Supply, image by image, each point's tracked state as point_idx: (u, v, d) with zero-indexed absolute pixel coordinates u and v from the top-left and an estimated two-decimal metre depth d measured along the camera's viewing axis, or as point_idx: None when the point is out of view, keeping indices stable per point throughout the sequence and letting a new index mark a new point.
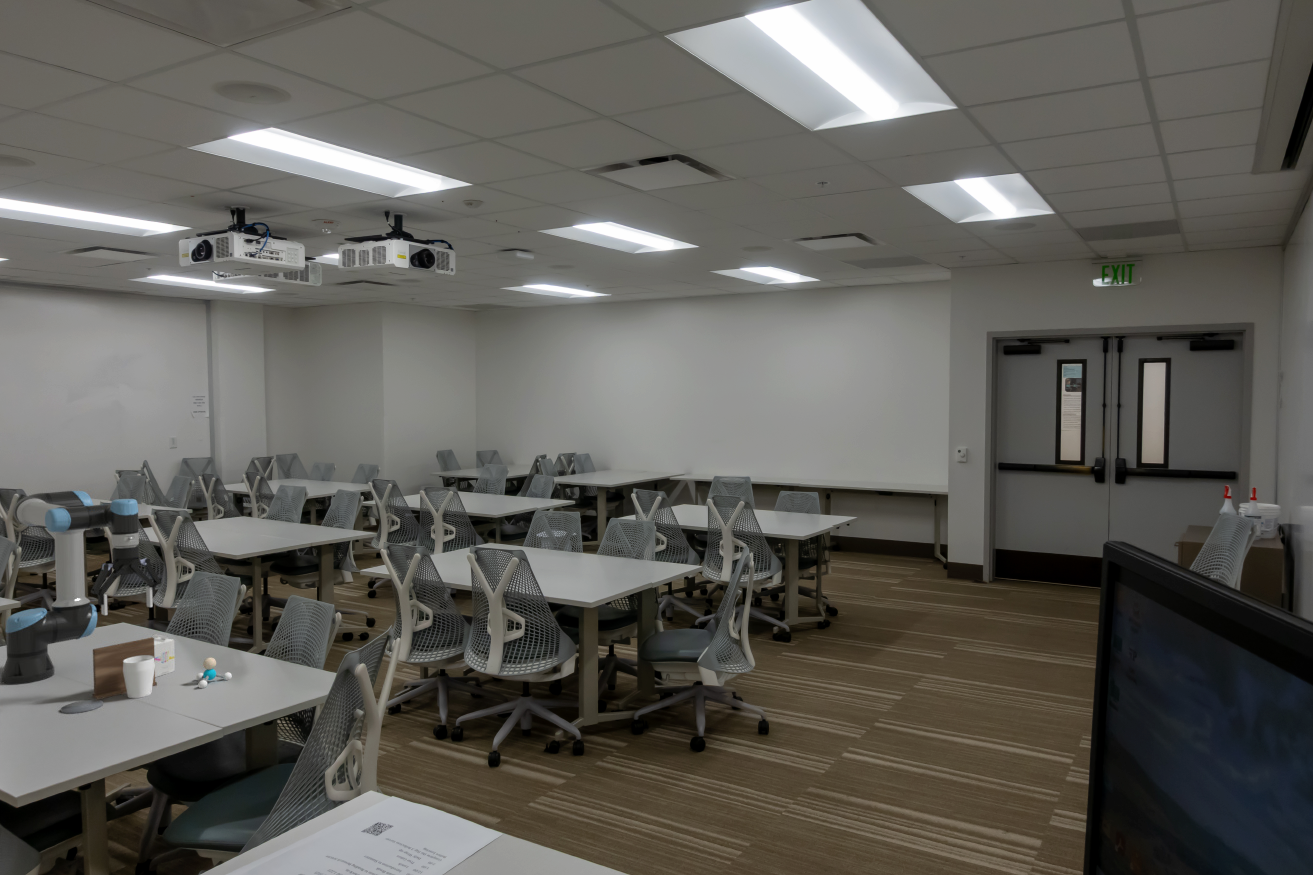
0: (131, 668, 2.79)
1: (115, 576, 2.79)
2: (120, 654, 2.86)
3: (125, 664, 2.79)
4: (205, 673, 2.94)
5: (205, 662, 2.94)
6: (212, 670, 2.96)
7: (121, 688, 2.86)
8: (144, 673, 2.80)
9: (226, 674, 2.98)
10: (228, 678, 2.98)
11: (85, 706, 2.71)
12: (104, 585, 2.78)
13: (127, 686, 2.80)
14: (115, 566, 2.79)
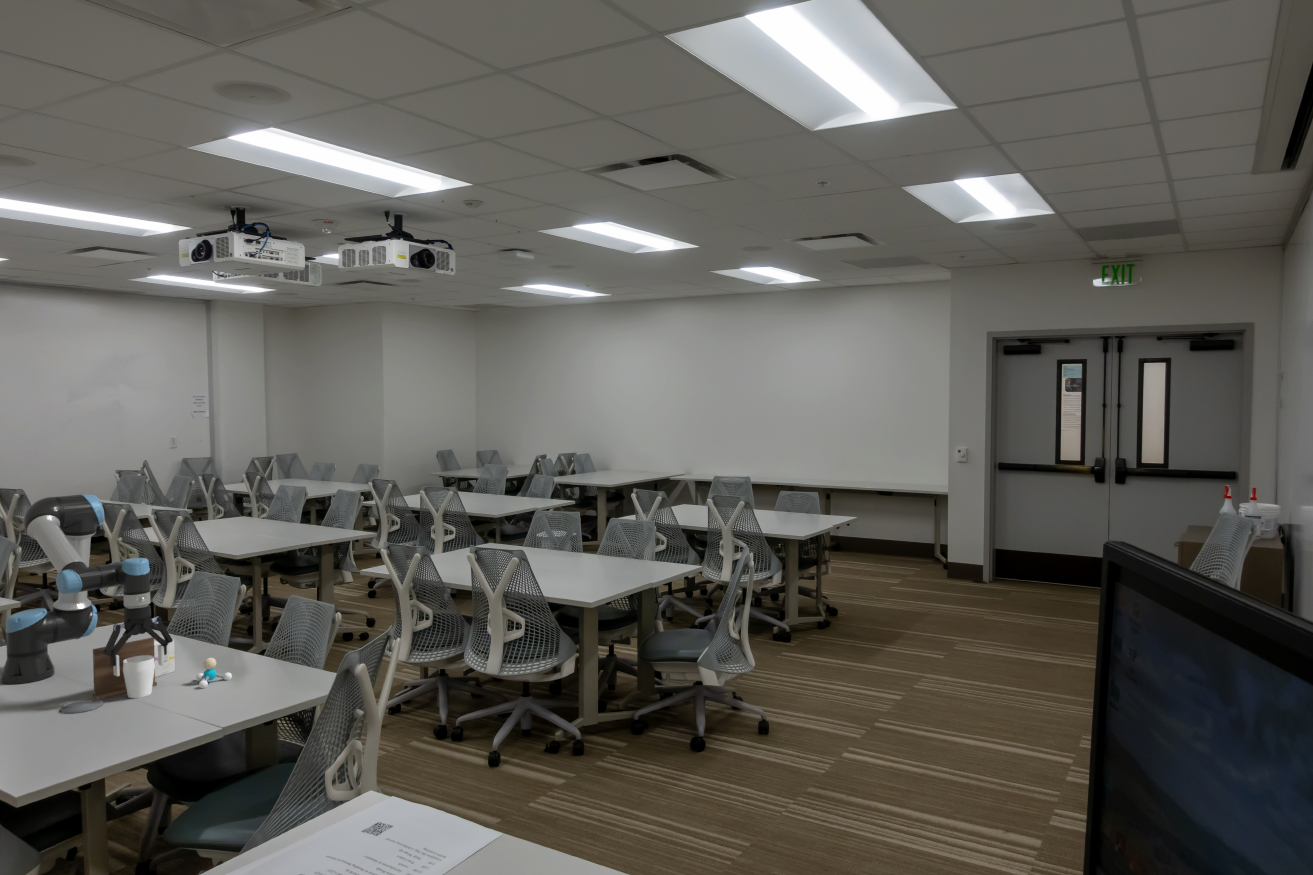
0: (131, 668, 2.79)
1: (127, 636, 2.79)
2: (120, 654, 2.86)
3: (125, 664, 2.79)
4: (205, 673, 2.94)
5: (205, 662, 2.94)
6: (212, 670, 2.96)
7: (121, 688, 2.86)
8: (144, 673, 2.80)
9: (226, 674, 2.98)
10: (228, 678, 2.98)
11: (85, 706, 2.71)
12: (116, 646, 2.77)
13: (127, 686, 2.80)
14: (127, 626, 2.79)
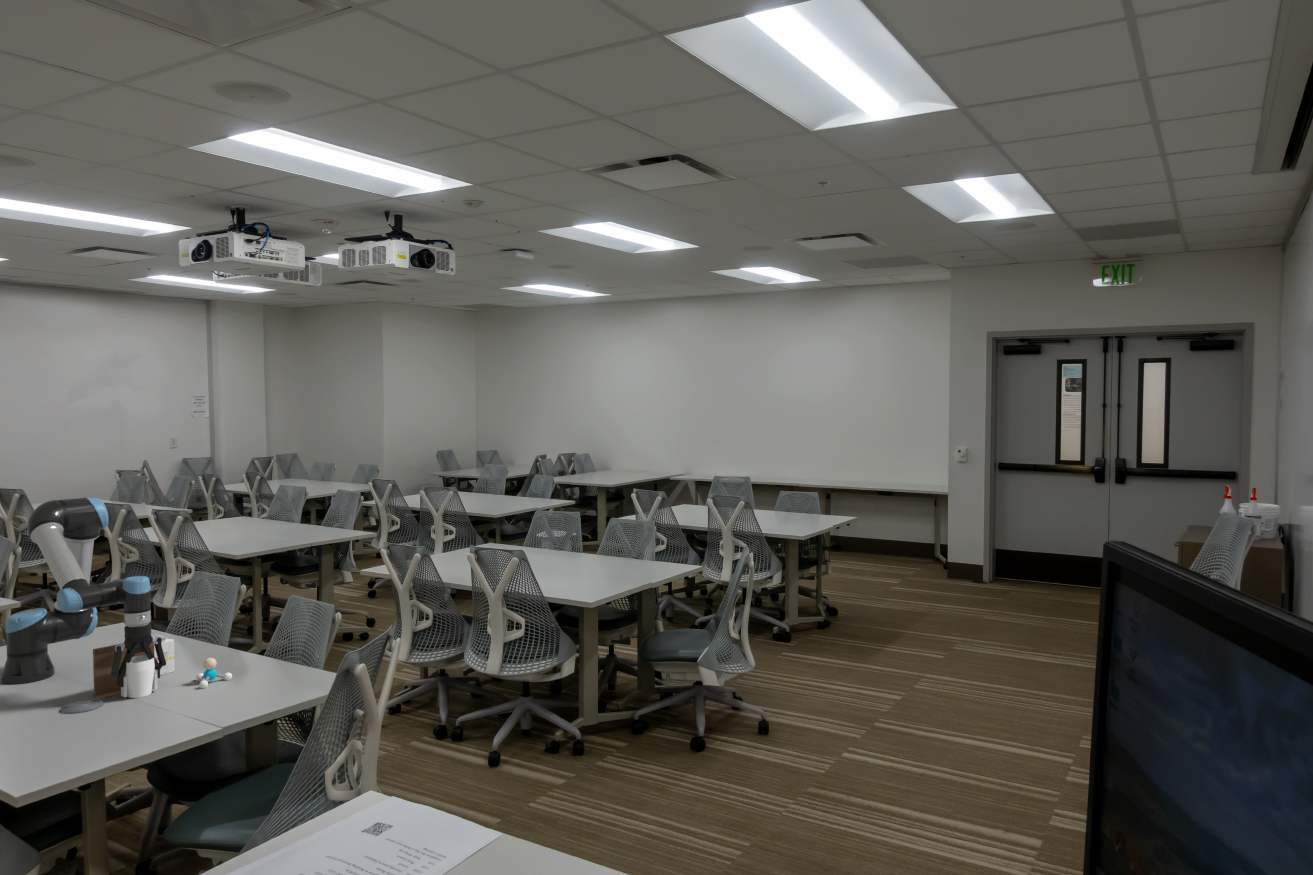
0: (131, 668, 2.79)
1: (130, 656, 2.80)
2: None
3: None
4: (205, 673, 2.94)
5: (206, 662, 2.94)
6: (212, 670, 2.95)
7: None
8: (144, 673, 2.80)
9: (226, 674, 2.98)
10: (228, 678, 2.98)
11: (85, 706, 2.71)
12: (122, 667, 2.79)
13: (127, 686, 2.80)
14: (127, 645, 2.79)
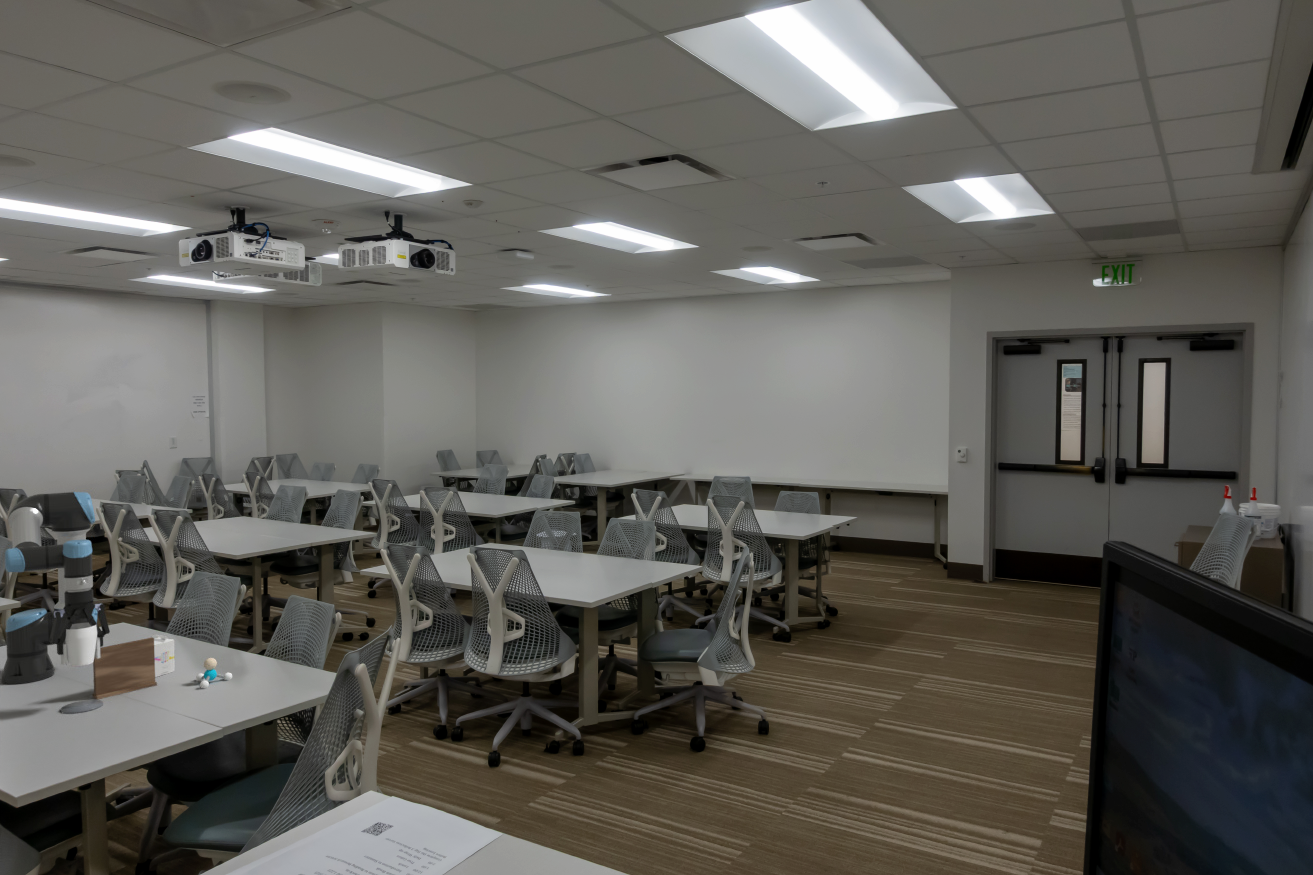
0: (71, 634, 2.67)
1: (70, 622, 2.68)
2: (120, 654, 2.86)
3: None
4: (206, 673, 2.94)
5: (206, 662, 2.94)
6: (213, 670, 2.95)
7: (121, 688, 2.86)
8: (85, 640, 2.68)
9: (227, 674, 2.98)
10: (229, 678, 2.98)
11: (85, 706, 2.71)
12: (61, 634, 2.67)
13: (67, 654, 2.68)
14: (67, 611, 2.67)
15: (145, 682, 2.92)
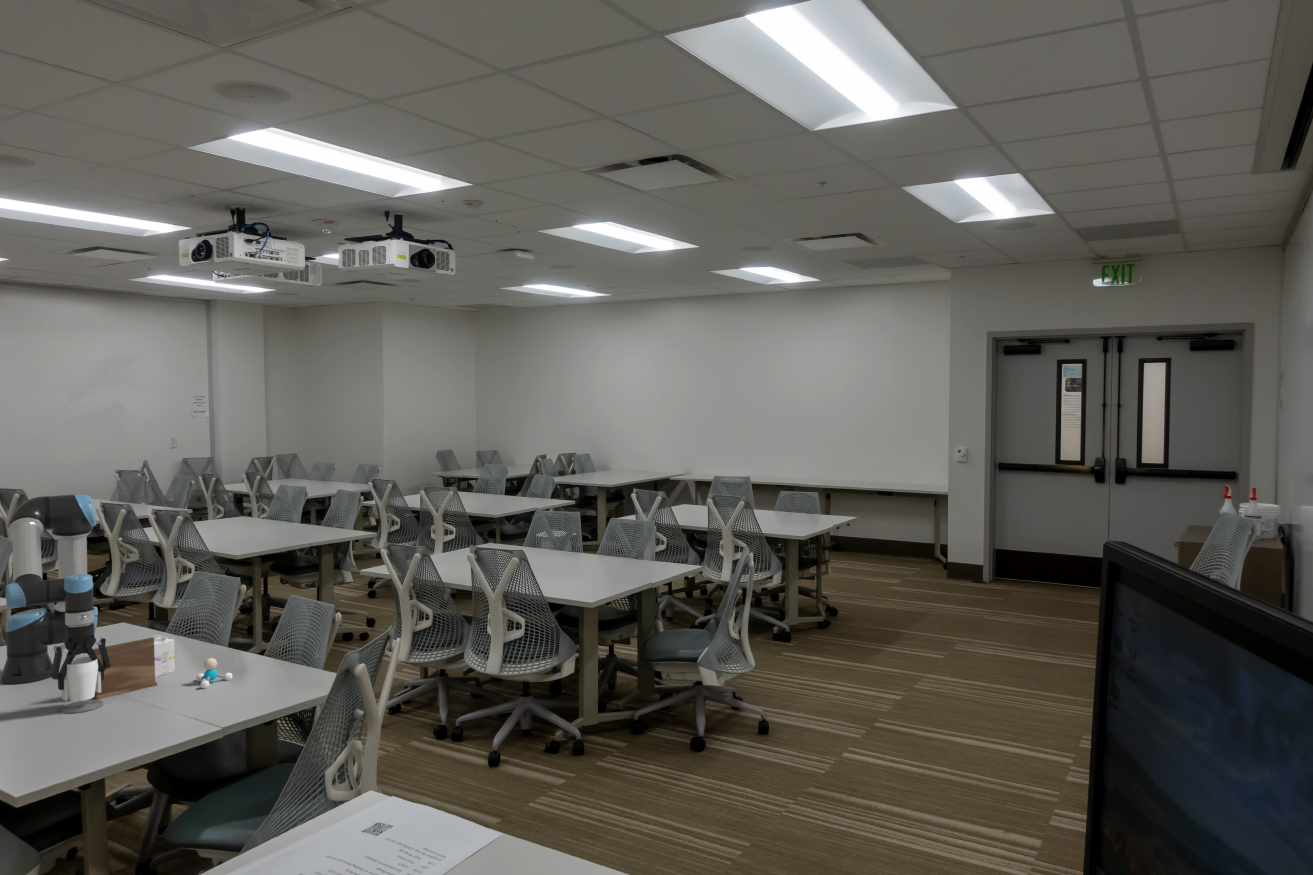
0: (72, 670, 2.67)
1: (71, 658, 2.68)
2: (120, 654, 2.86)
3: None
4: (206, 673, 2.94)
5: (206, 662, 2.94)
6: (213, 670, 2.95)
7: (121, 688, 2.86)
8: (86, 675, 2.69)
9: (227, 674, 2.98)
10: (229, 678, 2.98)
11: (85, 706, 2.71)
12: (62, 669, 2.67)
13: (68, 689, 2.68)
14: (68, 646, 2.68)
15: (145, 682, 2.92)
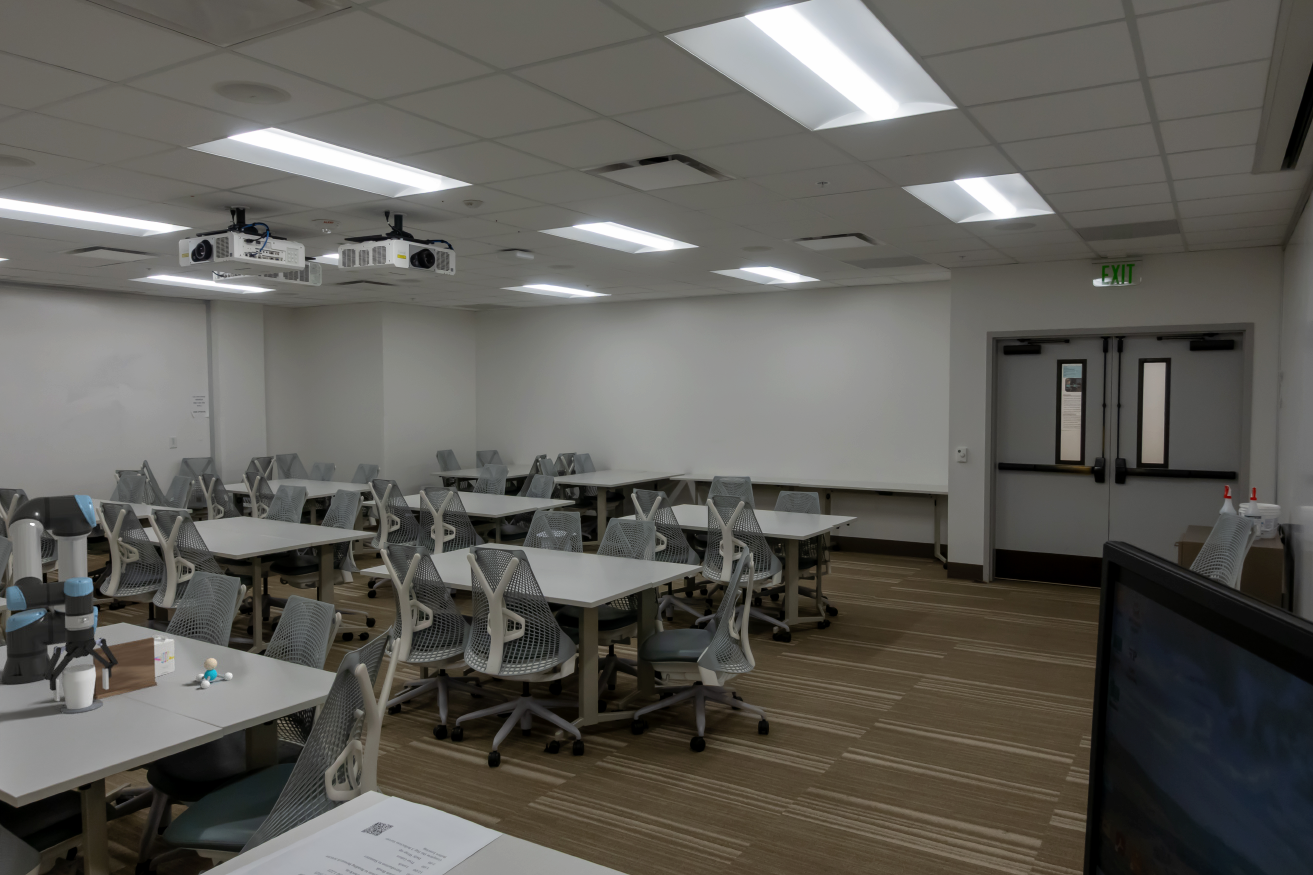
0: (70, 678, 2.66)
1: (68, 659, 2.67)
2: (120, 654, 2.86)
3: (63, 674, 2.67)
4: (206, 673, 2.94)
5: (206, 662, 2.94)
6: (213, 670, 2.95)
7: (121, 688, 2.86)
8: (83, 683, 2.68)
9: (227, 674, 2.98)
10: (229, 678, 2.98)
11: None
12: (56, 669, 2.66)
13: (66, 697, 2.68)
14: (68, 649, 2.68)
15: (145, 682, 2.92)
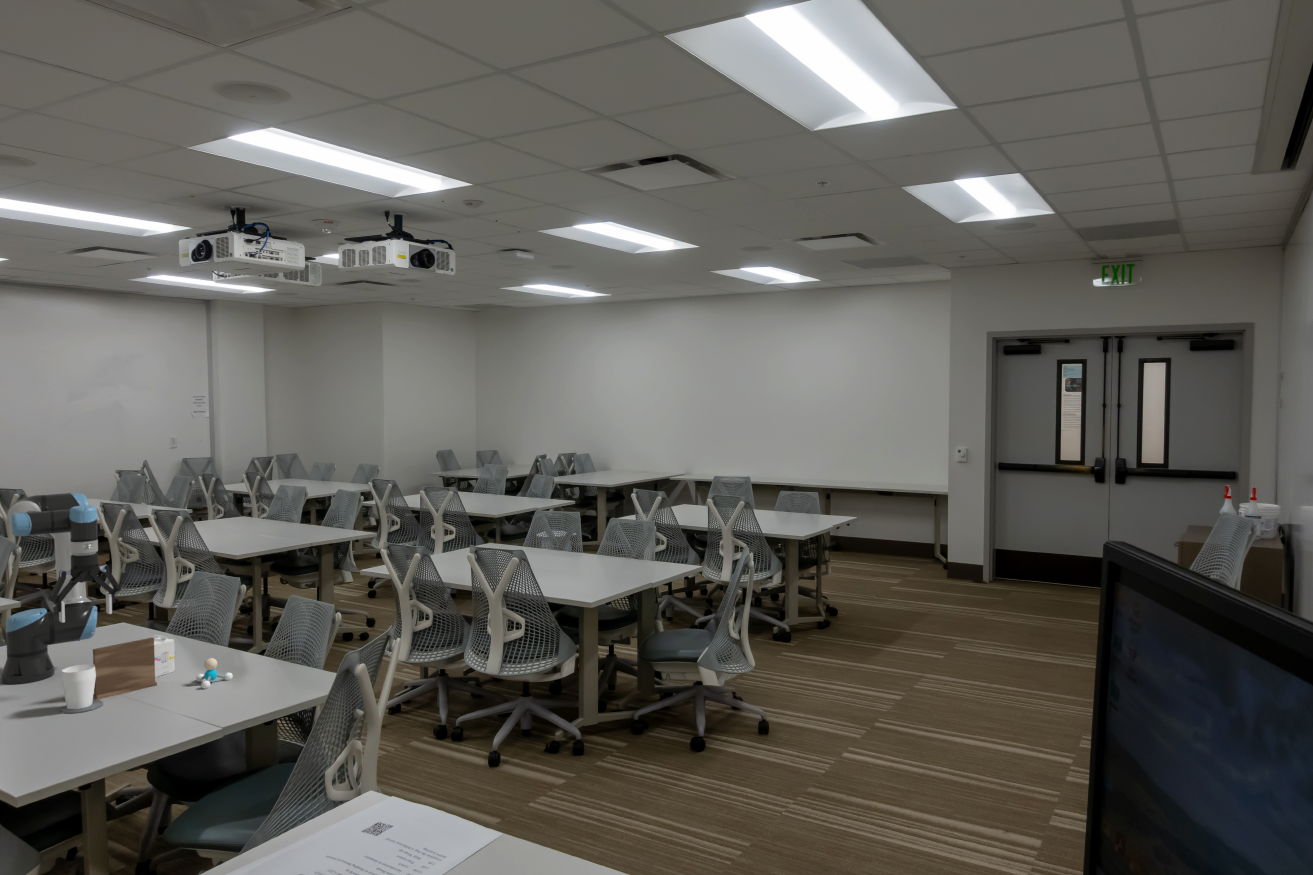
0: (70, 677, 2.66)
1: (73, 583, 2.78)
2: (120, 654, 2.86)
3: (63, 674, 2.67)
4: (207, 674, 2.94)
5: (207, 663, 2.94)
6: (213, 670, 2.95)
7: (121, 688, 2.86)
8: (83, 683, 2.68)
9: (227, 674, 2.98)
10: (229, 678, 2.98)
11: None
12: (62, 592, 2.77)
13: (66, 697, 2.68)
14: (73, 573, 2.78)
15: (145, 682, 2.92)
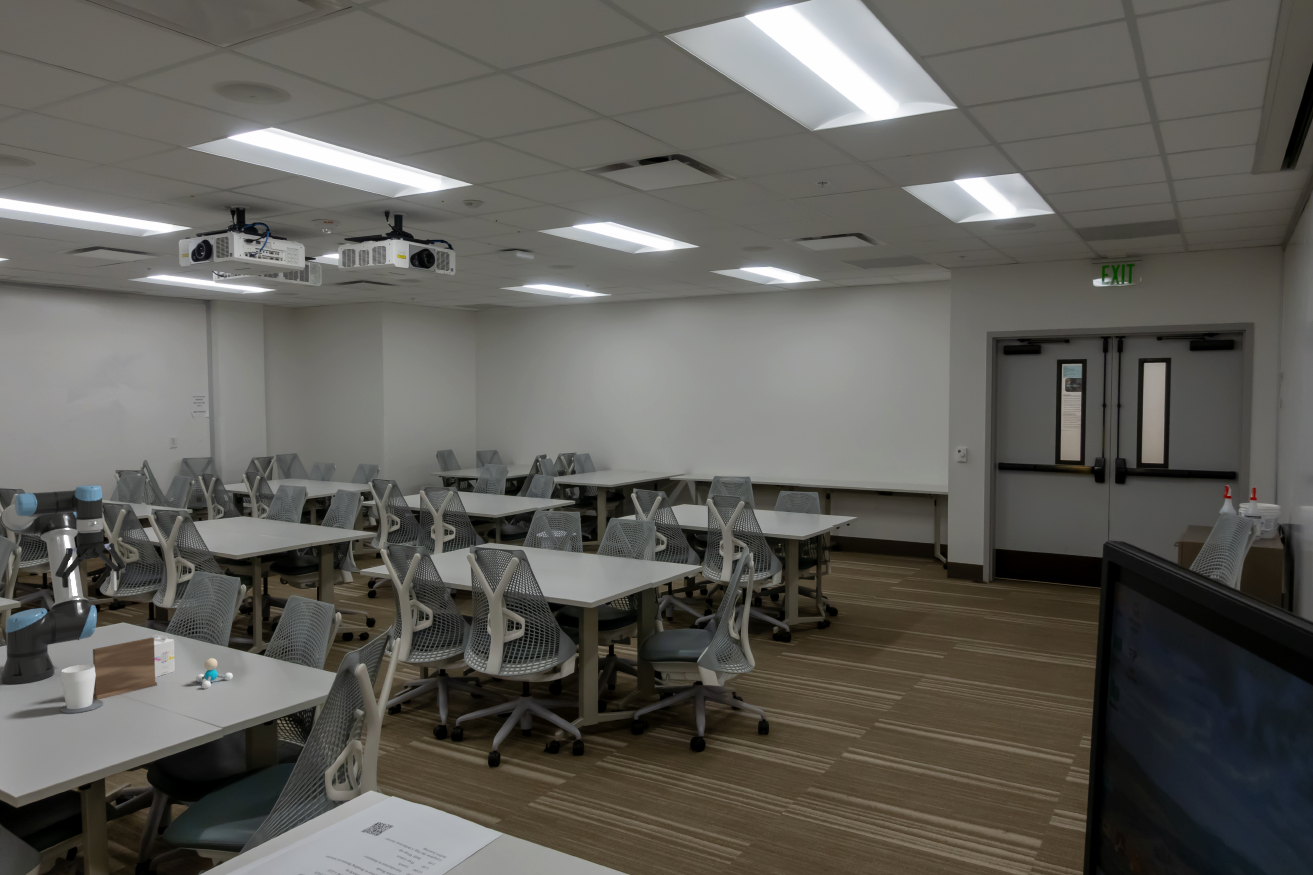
0: (69, 678, 2.66)
1: (79, 560, 2.88)
2: (120, 654, 2.86)
3: (63, 674, 2.67)
4: (207, 674, 2.94)
5: (207, 663, 2.94)
6: (214, 670, 2.95)
7: (121, 688, 2.86)
8: (83, 683, 2.68)
9: (227, 674, 2.98)
10: (229, 678, 2.98)
11: None
12: (68, 568, 2.87)
13: (65, 697, 2.68)
14: (79, 550, 2.88)
15: (145, 682, 2.92)
